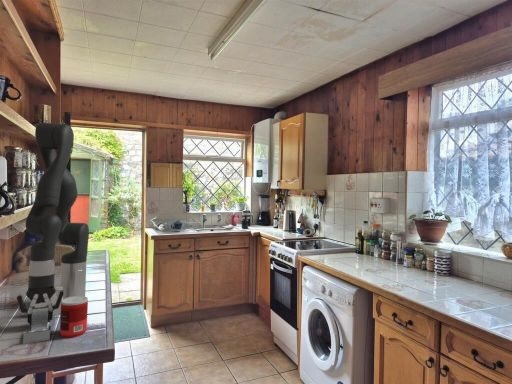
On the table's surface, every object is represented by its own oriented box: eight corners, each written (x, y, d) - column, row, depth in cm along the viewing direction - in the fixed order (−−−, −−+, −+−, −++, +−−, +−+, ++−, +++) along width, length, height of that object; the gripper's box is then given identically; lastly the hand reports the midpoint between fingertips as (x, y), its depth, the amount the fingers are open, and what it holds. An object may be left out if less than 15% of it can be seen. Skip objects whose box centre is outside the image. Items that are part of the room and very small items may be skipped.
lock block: (32, 324, 116) (33, 303, 116) (48, 322, 118) (49, 302, 119) (31, 330, 111) (31, 309, 111) (47, 328, 113) (48, 307, 113)
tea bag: (61, 315, 126) (62, 288, 126) (40, 317, 123) (41, 289, 123) (62, 311, 129) (63, 285, 129) (41, 313, 126) (42, 287, 127)
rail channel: (26, 333, 109) (26, 323, 109) (50, 329, 112) (51, 320, 112) (23, 344, 101) (23, 334, 101) (49, 340, 105) (49, 330, 105)
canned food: (90, 328, 115) (92, 296, 115) (79, 338, 107) (80, 303, 107) (68, 328, 114) (69, 295, 114) (54, 338, 106) (56, 303, 106)
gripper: (66, 268, 122) (64, 316, 121) (18, 272, 115) (16, 322, 115) (65, 273, 115) (63, 323, 115) (14, 277, 108) (12, 330, 108)
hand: (40, 322), depth 115 cm, fingers closed on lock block, 4 cm apart
